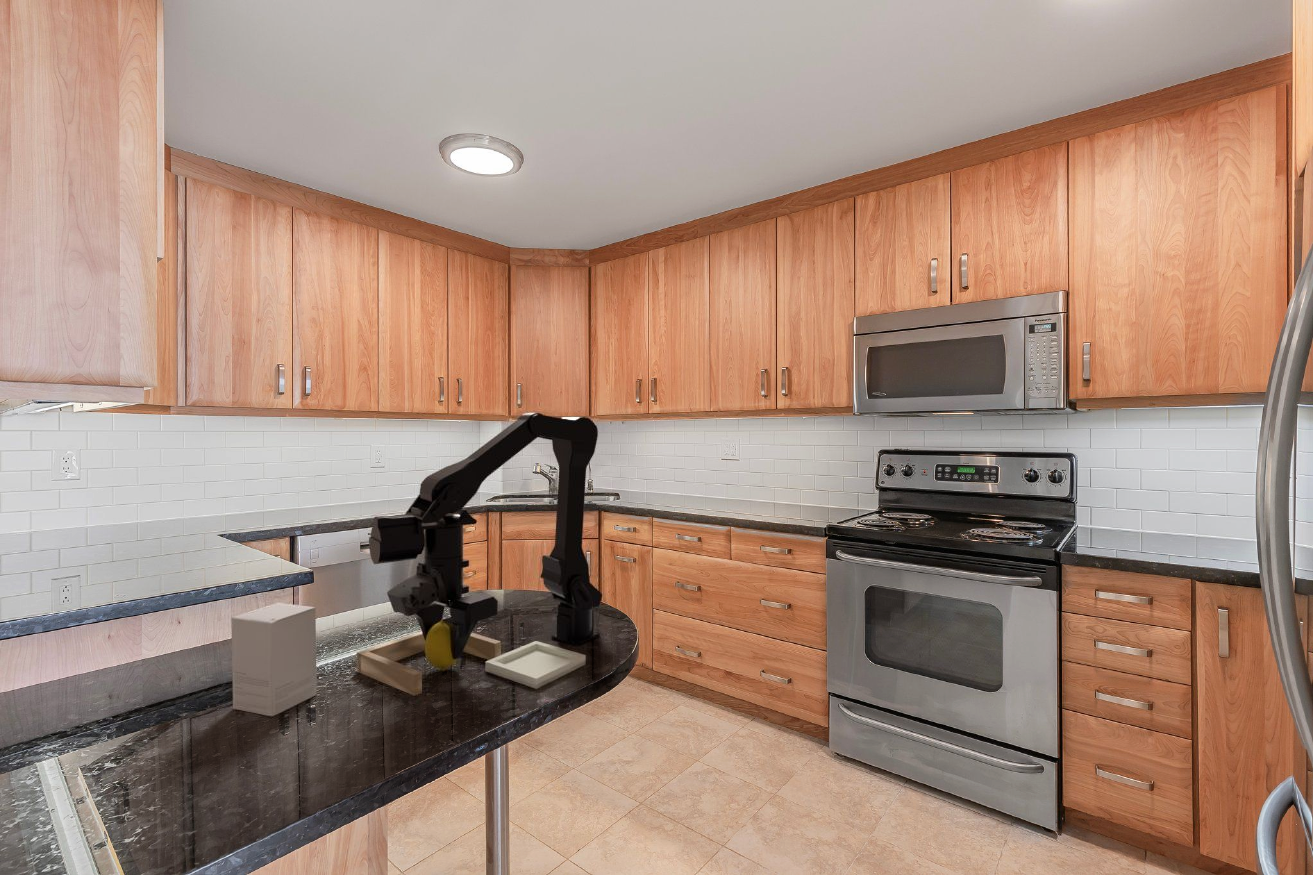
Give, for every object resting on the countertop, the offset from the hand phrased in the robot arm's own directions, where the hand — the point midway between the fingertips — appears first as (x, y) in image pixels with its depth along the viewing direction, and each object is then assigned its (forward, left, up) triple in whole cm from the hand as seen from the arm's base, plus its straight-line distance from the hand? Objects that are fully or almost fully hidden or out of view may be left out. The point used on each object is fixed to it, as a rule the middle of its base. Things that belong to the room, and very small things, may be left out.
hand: (443, 654), depth 96 cm
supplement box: (+20, -10, -3) cm, 23 cm away
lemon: (0, 0, -3) cm, 3 cm away
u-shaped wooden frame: (0, -3, -2) cm, 4 cm away
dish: (-9, +11, -2) cm, 14 cm away
